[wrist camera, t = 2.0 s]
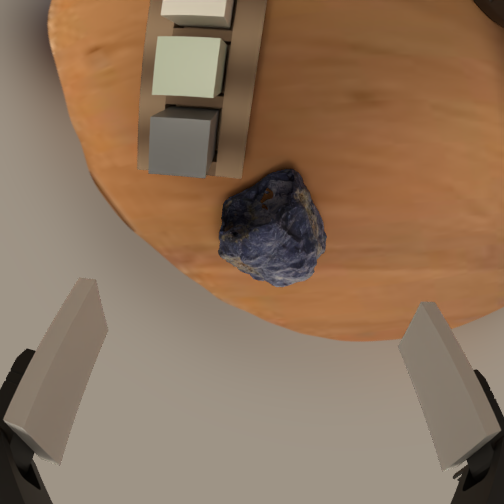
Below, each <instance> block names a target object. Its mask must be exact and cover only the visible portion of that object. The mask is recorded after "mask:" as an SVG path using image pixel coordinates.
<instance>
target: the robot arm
mask: <svg viewBox="0 0 504 504" xmlns="http://www.w3.org/2000/svg"><path fill="white" fill-rule="evenodd" d="M474 2H475V3H476V4H477V5H478V6H479V8H480V9H481V10H482V11H483V12H484V13H485V14H486V15H487V16H488V17H489V18H491V19H492V20H493V21H494V22H496V23H497V24H499V25H500V26H502V27H504V0H474ZM107 332H108V327H107V323H106V319H105V316H104V312H103V308H102V304H101V299H100V295H99V291H98V286H97V283H96V280H94V279H86V278H79V279H78V281H77V282H76V284H75V285H74V287H73V289H72V290H71V292H70V293H69V295H68V296H67V298H66V300H65V301H64V303H63V304H62V306H61V308H60V310H59V311H58V313H57V315H56V316H55V318H54V320H53V321H52V323H51V325H50V327H49V328H48V330H47V332H46V334H45V335H44V337H43V339H42V341H41V343H40V344H39V346H38V348H37V350H36V351H34V350H30V349H26V350H25V351H24V352H22V354H20V355H19V356H18V357H17V358H16V360H15V362H14V364H13V366H12V368H11V372H9V374H8V375H7V377H6V381H4V383H3V385H2V387H1V389H0V504H53V503H52V501H51V500H50V497H49V495H48V492H47V490H46V488H45V486H44V484H43V481H42V479H41V477H40V474H39V472H38V470H37V467H36V464H35V463H34V461H33V459H32V458H33V455H34V452H35V453H36V454H37V455H38V456H39V457H40V458H41V459H43V460H45V461H48V462H51V463H54V464H57V465H59V466H60V464H61V461H62V457H63V454H64V450H65V447H66V444H67V441H68V438H69V434H70V431H71V428H72V425H73V422H74V419H75V416H76V413H77V410H78V407H79V405H80V402H81V399H82V396H83V393H84V390H85V388H86V385H87V382H88V380H89V377H90V374H91V372H92V369H93V367H94V364H95V362H96V359H97V356H98V354H99V352H100V349H101V347H102V344H103V342H104V339H105V337H106V334H107ZM398 348H399V351H400V353H401V355H402V358H403V360H404V363H405V365H406V368H407V370H408V373H409V376H410V378H411V381H412V383H413V386H414V389H415V391H416V394H417V397H418V399H419V402H420V405H421V408H422V410H423V413H424V416H425V419H426V422H427V425H428V428H429V431H430V434H431V437H432V440H433V443H434V446H435V449H436V452H437V455H438V458H439V462H440V465H441V468H442V471H445V470H449V469H452V468H455V467H457V466H459V465H460V464H461V463H462V462H464V461H465V460H467V462H468V465H466V466H465V467H464V468H462V469H461V470H460V471H458V472H457V473H455V475H454V476H453V479H455V478H456V477H458V476H459V475H461V474H462V476H461V477H460V478H459V479H458V481H459V484H458V486H457V489H456V492H455V494H454V497H453V499H452V502H451V504H504V417H503V415H502V412H501V410H500V408H499V406H498V403H497V402H496V399H494V395H493V393H492V391H490V387H489V385H488V383H487V381H486V379H485V378H484V377H483V375H482V374H481V373H480V372H479V371H478V370H473V369H472V367H471V365H470V363H469V361H468V359H467V357H466V355H465V354H464V352H463V350H462V348H461V346H460V344H459V343H458V341H457V339H456V337H455V336H454V334H453V332H452V330H451V329H450V327H449V325H448V323H447V322H446V320H445V318H444V317H443V315H442V313H441V312H440V310H439V308H438V307H437V305H436V303H435V302H421V303H420V305H419V307H418V309H417V311H416V313H415V315H414V317H413V319H412V321H411V323H410V325H409V327H408V329H407V331H406V332H405V334H404V336H403V338H402V340H401V342H400V344H399V345H398Z"/></svg>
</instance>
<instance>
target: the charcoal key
mask: <svg viewBox="0 0 504 504" xmlns="http://www.w3.org/2000/svg"><path fill="white" fill-rule="evenodd" d="M218 118H219V110H218V109H207V108H193V107H177V106H171V107H169V108H167V109H165V110H163V111H161V112H159V113H157V114H155V115H153V116H151V117H150V137H149V174H162V175H174V176H186V177H196V178H206V175H207V173H208V170H209V168H210V165H211V163H212V160H213V158H214V156H215V146H216V137H217V127H218Z"/></svg>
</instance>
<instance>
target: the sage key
mask: <svg viewBox="0 0 504 504" xmlns="http://www.w3.org/2000/svg"><path fill="white" fill-rule="evenodd" d="M227 47H228V45H227V44H226V43H225V42H224V41H223V40H222V39H221V38H209V37H185V36H158V38H157V46H156V55H155V65H154V75H153V87H152V95H173V96H192V97H206V98H214V97H215V96H217V95H218V94H220V93H221V92H222V85H223V77H224V69H225V62H226V54H227Z"/></svg>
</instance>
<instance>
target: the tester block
mask: <svg viewBox="0 0 504 504" xmlns="http://www.w3.org/2000/svg"><path fill="white" fill-rule="evenodd" d="M162 2H163V0H150V7H149V13H148V21H147V28H146V36H145V44H144V53H143V63H142V75H141V87H140V102H139V122H138V160H137V169H139V170H149V137H150V117H151V116H153V115H155V114H157V113H159V112H161V111H163V110H165V109H167V108H169V107H171V106H177V107H193V108H207V109H218V110H219V118H218V127H217V137H216V146H215V156H214V158H213V160H212V163H211V165H210V168H209V170H208V173H207V175H210V176H220V177H229V178H238V179H242V171H243V164H244V156H245V149H246V141H247V134H248V127H249V119H250V112H251V105H252V98H253V91H254V84H255V77H256V70H257V63H258V57H259V50H260V43H261V37H262V30H263V24H264V17H265V11H266V5H267V0H235V1H234V7H233V13H232V20H231V26H230V29H229V28H215V27H194V26H179V25H177V24H176V23H174V22H172V21H170V20H168V19H167V18H165V17H163V16H161V9H162ZM158 36H185V37H209V38H221V39H222V40H223V41H224V42H225V43H226V44H227V45H228V47H227V54H226V62H225V69H224V77H223V85H222V92H221V93H220V94H218V95H217V96H215V97H214V98H206V97H192V96H173V95H152V87H153V75H154V65H155V55H156V46H157V38H158Z"/></svg>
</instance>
